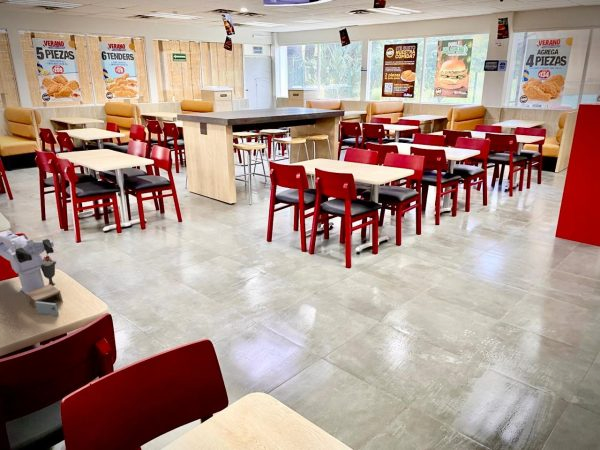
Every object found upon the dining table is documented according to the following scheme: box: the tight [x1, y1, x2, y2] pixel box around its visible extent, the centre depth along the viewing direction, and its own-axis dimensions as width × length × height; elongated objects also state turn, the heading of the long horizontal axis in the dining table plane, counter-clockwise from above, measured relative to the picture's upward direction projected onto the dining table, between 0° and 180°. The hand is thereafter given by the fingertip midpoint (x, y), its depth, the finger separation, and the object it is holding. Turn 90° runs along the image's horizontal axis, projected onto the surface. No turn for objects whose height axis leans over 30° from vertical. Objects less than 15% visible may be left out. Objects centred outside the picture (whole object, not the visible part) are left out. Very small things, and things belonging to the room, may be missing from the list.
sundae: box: [40, 253, 57, 287], centre depth 189 cm, size 7×7×15 cm
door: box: [35, 301, 60, 316], centre depth 168 cm, size 2×9×5 cm, turn 75°
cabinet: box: [25, 283, 64, 311], centre depth 176 cm, size 9×9×5 cm
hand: (41, 253), depth 168 cm, fingers open, 7 cm apart
